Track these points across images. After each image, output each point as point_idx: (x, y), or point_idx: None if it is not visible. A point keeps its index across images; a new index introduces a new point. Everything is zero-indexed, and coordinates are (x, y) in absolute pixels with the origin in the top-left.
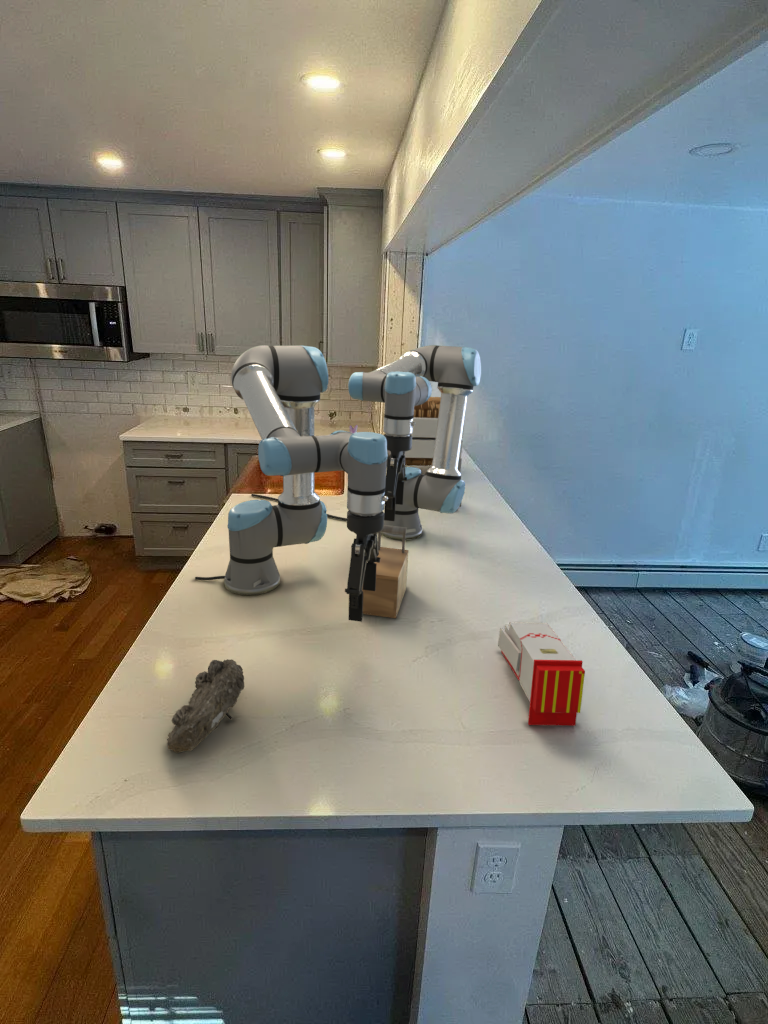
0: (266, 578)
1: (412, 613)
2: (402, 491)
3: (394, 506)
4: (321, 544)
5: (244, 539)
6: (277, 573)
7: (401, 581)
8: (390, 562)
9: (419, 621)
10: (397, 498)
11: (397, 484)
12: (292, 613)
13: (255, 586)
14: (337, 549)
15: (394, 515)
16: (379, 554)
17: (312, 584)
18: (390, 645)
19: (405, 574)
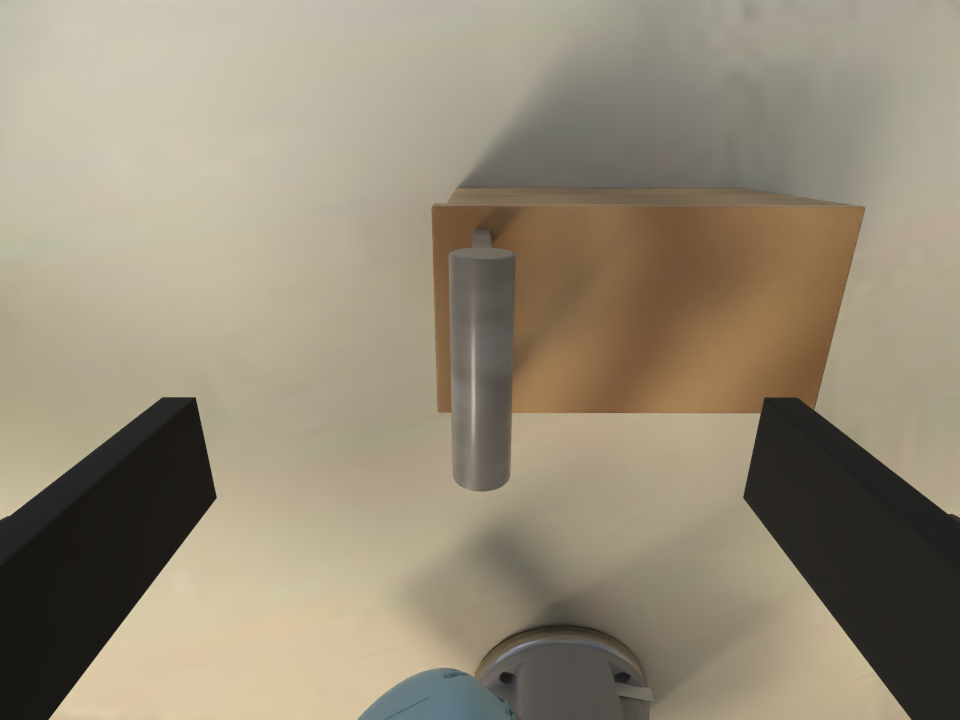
0: (614, 683)
1: (684, 120)
2: (81, 512)
3: (934, 514)
4: (174, 595)
5: None
6: (553, 664)
7: (674, 197)
8: (656, 290)
9: (751, 76)
10: (168, 498)
11: (11, 687)
12: (734, 538)
13: (642, 686)
14: (190, 534)
15: (839, 432)
16: (554, 372)
17: (520, 538)
18: (944, 174)
19: (518, 195)
